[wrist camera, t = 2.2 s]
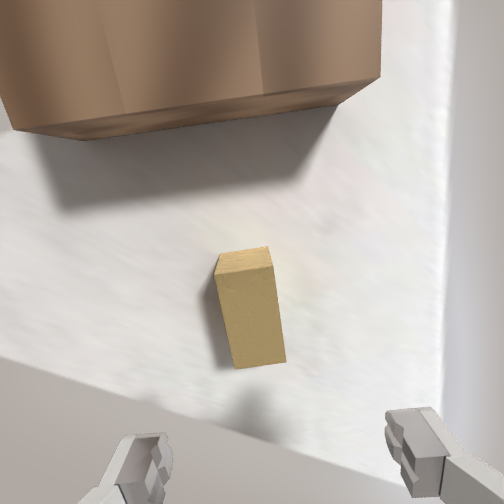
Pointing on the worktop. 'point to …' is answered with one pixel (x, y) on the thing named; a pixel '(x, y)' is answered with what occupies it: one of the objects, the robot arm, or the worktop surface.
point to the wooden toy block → (250, 307)
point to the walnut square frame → (179, 61)
